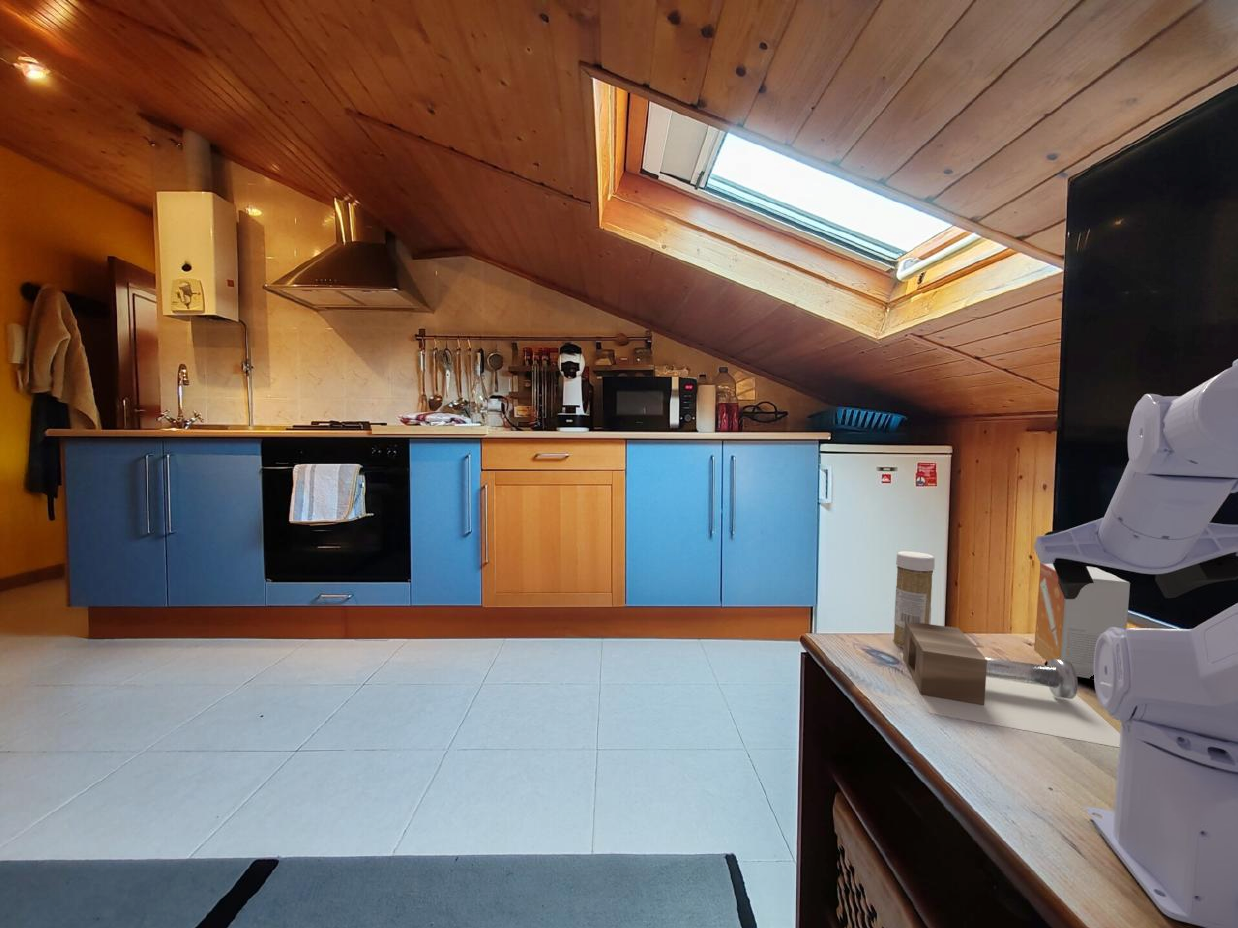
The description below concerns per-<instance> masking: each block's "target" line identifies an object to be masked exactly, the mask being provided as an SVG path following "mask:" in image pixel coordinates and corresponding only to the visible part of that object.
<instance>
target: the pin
mask: <svg viewBox="0 0 1238 928" xmlns="http://www.w3.org/2000/svg"><path fill="white" fill-rule="evenodd" d="M984 657H985V658H986V659H987V671H986V677H989V678H995V679H1002V680H1008V681H1014V682H1021V683H1027V684H1034V685H1040V686H1046V687H1049V689H1050V691H1051V692H1052V694H1053V695H1054V696H1056V697H1061V698H1068V699H1073V698H1074V697H1075V696H1076V695H1077V693H1078V685H1079V684H1078V676H1076V672H1075V669H1074V667H1073V665H1072V664H1071V663H1070V662H1069V661H1067V660H1060V659H1053V658H1052V659H1050V660H1049V661H1048V662H1047V664H1046V665H1044V664H1043V665H1042V664H1036V663H1028V662H1022V661H1015V660H1009V659H1001V658H996V657H995V658H994V657H989V656H984Z"/></svg>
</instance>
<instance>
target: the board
mask: <svg viewBox="0 0 1238 928" xmlns="http://www.w3.org/2000/svg"><path fill="white" fill-rule="evenodd" d="M899 654H900V656H901V658H902V659H903V652H899ZM904 664H905V663H904ZM905 666H906V664H905ZM905 668H907V666H906V667H905ZM907 671H908V673H909V674H910V672H909V670H908V668H907ZM910 676H911V674H910ZM911 679H912V681H913V683H914V684H915V682H914V680H913V678H912V676H911ZM915 687H916V689H917V691H918V693H919V695H920V696H921V698H922V701H923V703H924V705H925V706H926V709H927V711H928V713H929V714H931V715H932V714H933V715H937V716H942V717H943V716H944V717H949V718H954V719H960V720H966V721H971V722H976V723H981V724H987V725H993V726H996V727H997V726H998V727H1002V728H1003V727H1004V728H1009V729H1015V730H1020V731H1025V732H1031V733H1036V734H1042V735H1048V736H1053V737H1059V738H1064V739H1069V740H1074V741H1075V740H1076V741H1081V742H1086V743H1090V744H1091V743H1092V744H1097V745H1104V746H1108V747H1113V748H1118V749H1119V744H1120V732H1119V731H1118V730H1117V729H1116V728H1115V727H1113V726H1112V725H1111V724H1110V723H1109V722H1108V721H1107V720H1105V719H1104V718H1103V717H1102V716H1101V715H1100V714H1099V713H1098V712H1097V711H1096V710H1095V709H1093V708H1092V707H1091V706H1090V705H1089V704H1088V703H1087V702H1085V700H1083V699H1082V698H1081V697H1079V695H1077V694H1076V696H1075V697H1074V698H1073V699H1068V698H1061V697H1056V696H1054V695H1053V694H1052V692H1051V691H1050V689H1049V687H1046V686H1040V685H1034V684H1027V683H1021V682H1014V681H1008V680H1002V679H995V678H989V677H986V686H985V701H984V706H983V705H978V704H972V703H966V702H960V701H954V700H949V699H943V698H937V697H931V696H925V695H921V694H920V692H919V690H918V688H917V686H916V684H915Z"/></svg>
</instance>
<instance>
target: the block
mask: <svg viewBox="0 0 1238 928" xmlns="http://www.w3.org/2000/svg"><path fill="white" fill-rule="evenodd" d="M902 653H903V658H902V660H903V663H904V664H906V665H905V666H907V667H906V668H908V669H907V671H908V670H909V671H908V673H909V672H910V673H909V674H911V675H910V676H912V677H911V679H912V678H913V679H912V681H913V680H914V681H913V683H914V682H915V683H914V684H916V685H915V687H916V686H917V687H916V689H917V688H918V689H917V691H918V690H919V691H918V693H919V692H920V693H919V695H920V694H921V695H925V696H931V697H937V698H943V699H949V700H954V701H960V702H966V703H972V704H978V705H983V706H984V701H985V686H986V671H987V659H986V658H985V657H986V656H984V655H983V654H982V652H981V651H980V650H979V649H978V648H977V647H976V646H975V645H974V643H973V642H972V641H971V640H970V639H969V638H968V637H967V636H966V634H965V633H964V632H963V631H962V630H961V628H959V627H952V626H945V625H937V624H931V623H930V624H923V623H916V622H908V621H905V630H904V647H903V650H902ZM921 695H920V696H921Z"/></svg>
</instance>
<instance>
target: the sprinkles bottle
mask: <svg viewBox="0 0 1238 928" xmlns="http://www.w3.org/2000/svg"><path fill="white" fill-rule="evenodd" d="M895 564H896V569H897V572H896V573H897V574H896V585H895V597H894V598H895V599H894V618H893V619H894V620H893V622H894V626H893V627H894V629H893V639H892V643H893V644H894V645H895V646H897V647H900V648H903V647H904V630H905V621H908V622H916V623H923V624H931V622H932V621H931V619H932V605H931V604H932V590H933V573H934V570H935V556H933V555H931V554H929V553H925V552H919V551H910V550H909V551H907V550H905V551H904V550H903V551H899V552H897V553H896V563H895Z"/></svg>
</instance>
